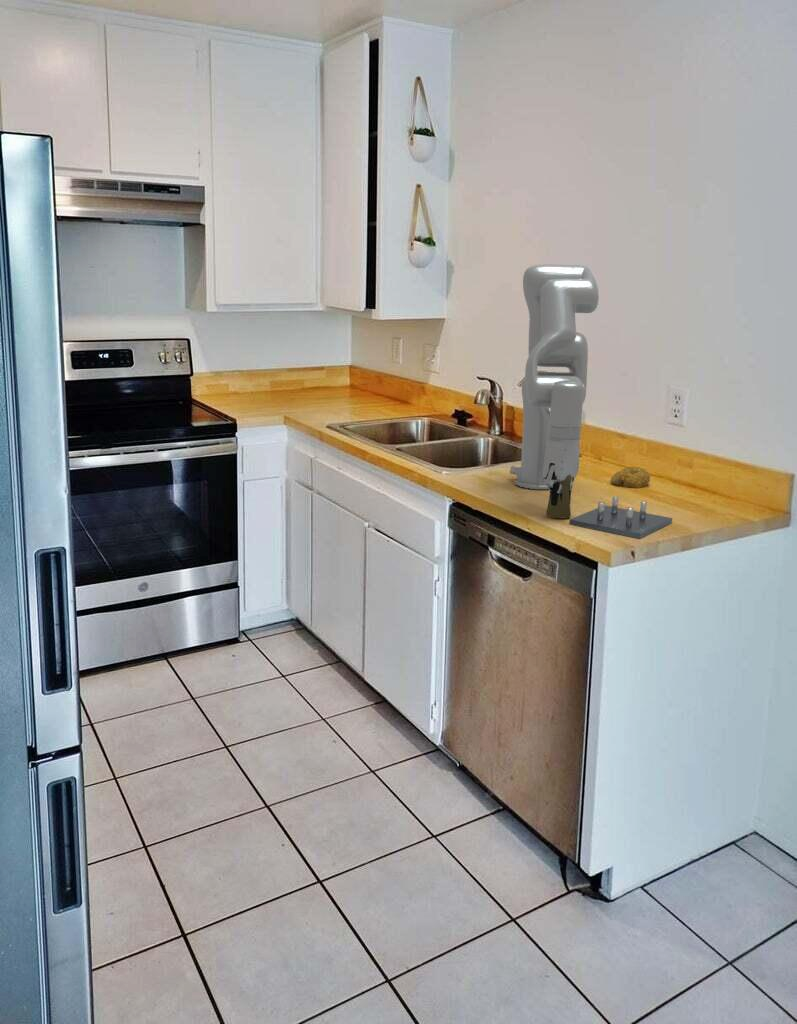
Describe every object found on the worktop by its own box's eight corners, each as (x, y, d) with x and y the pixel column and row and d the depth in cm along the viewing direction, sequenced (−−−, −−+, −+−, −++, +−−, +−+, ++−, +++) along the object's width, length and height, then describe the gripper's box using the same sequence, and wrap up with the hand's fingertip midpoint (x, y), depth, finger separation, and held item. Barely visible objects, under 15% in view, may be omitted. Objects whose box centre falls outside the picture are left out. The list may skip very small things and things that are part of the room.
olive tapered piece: (568, 511, 227) (571, 468, 224) (573, 518, 222) (576, 474, 219) (544, 511, 227) (546, 468, 224) (548, 518, 222) (551, 474, 218)
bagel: (606, 480, 265) (607, 464, 263) (643, 481, 265) (645, 465, 264) (615, 488, 255) (616, 472, 254) (654, 489, 255) (655, 472, 254)
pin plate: (569, 524, 218) (570, 503, 217) (604, 509, 232) (605, 489, 230) (639, 538, 207) (641, 516, 206) (671, 522, 221) (673, 502, 219)
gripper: (567, 426, 227) (562, 497, 233) (533, 435, 215) (528, 510, 220) (594, 430, 223) (589, 502, 228) (561, 440, 211) (556, 516, 216)
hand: (559, 505), depth 224 cm, fingers closed on olive tapered piece, 3 cm apart
